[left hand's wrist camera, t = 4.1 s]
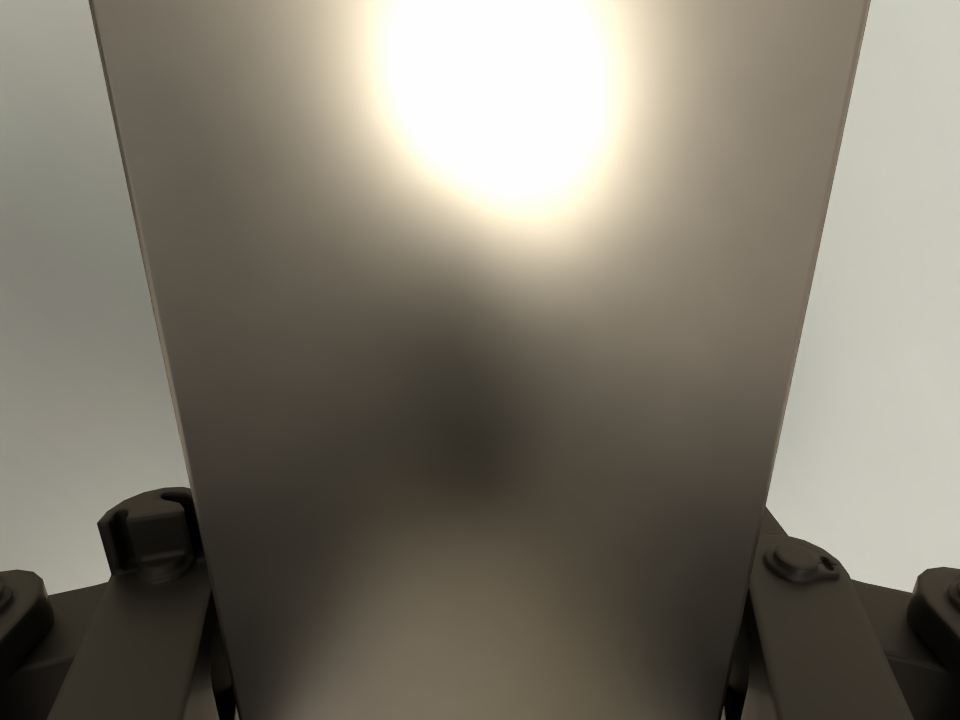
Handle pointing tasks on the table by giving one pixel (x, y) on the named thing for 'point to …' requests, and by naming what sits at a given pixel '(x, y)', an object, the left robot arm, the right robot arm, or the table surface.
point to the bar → (479, 331)
